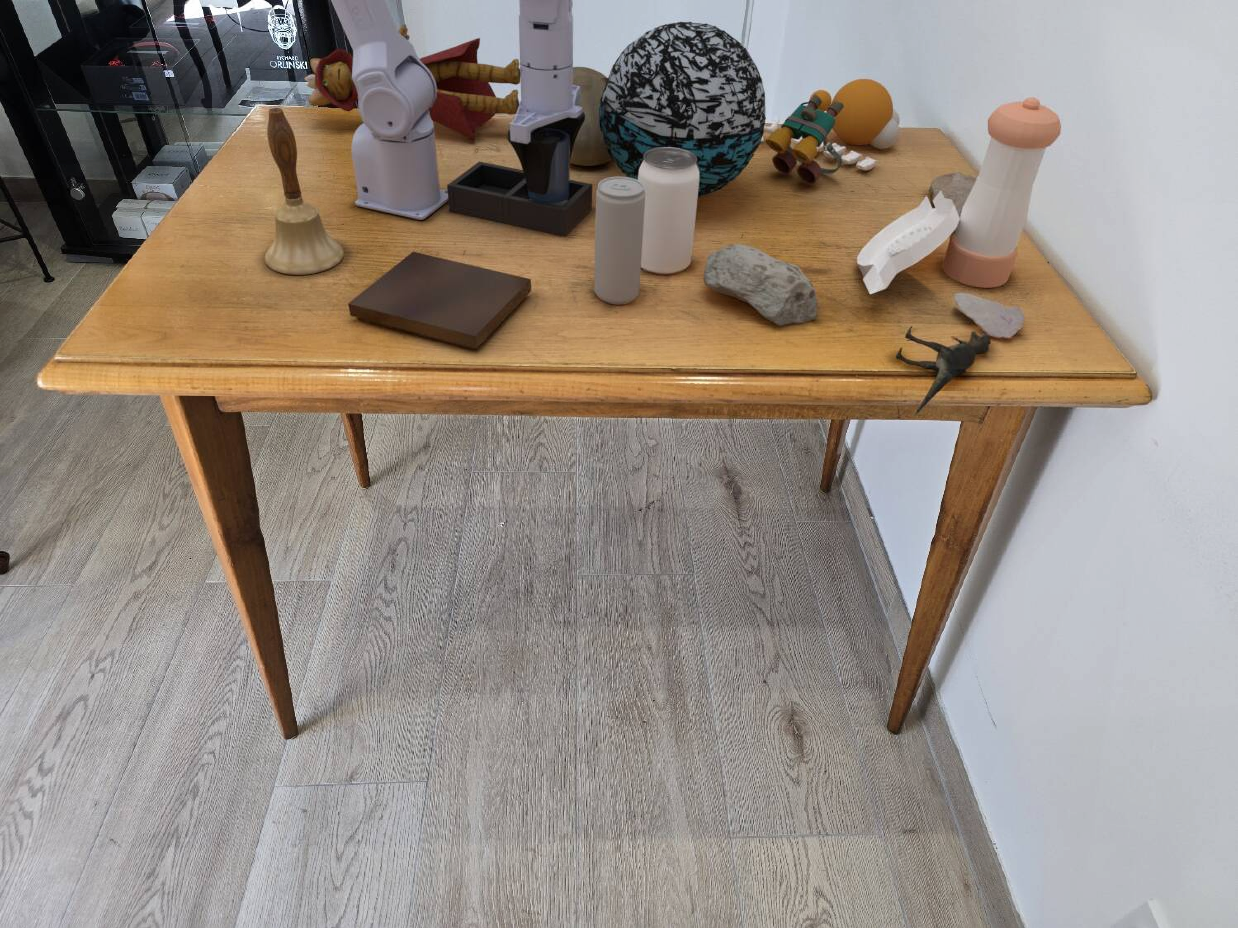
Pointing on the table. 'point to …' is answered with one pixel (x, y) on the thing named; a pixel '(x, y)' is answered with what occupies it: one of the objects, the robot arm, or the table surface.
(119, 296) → the table surface
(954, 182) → the stone
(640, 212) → the beverage can
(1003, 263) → the pepper shaker
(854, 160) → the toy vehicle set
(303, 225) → the hand bell
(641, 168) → the can
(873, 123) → the toy
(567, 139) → the tumbler
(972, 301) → the stone
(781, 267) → the decorative stone
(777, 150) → the binoculars
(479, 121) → the figurine
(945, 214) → the two-handled dish
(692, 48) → the decorative sphere
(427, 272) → the shelf
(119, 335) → the table surface
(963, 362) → the dinosaur
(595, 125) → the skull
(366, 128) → the robot arm
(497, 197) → the rack
